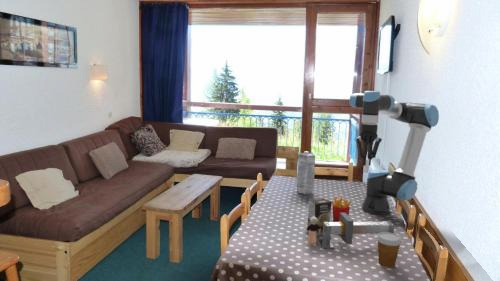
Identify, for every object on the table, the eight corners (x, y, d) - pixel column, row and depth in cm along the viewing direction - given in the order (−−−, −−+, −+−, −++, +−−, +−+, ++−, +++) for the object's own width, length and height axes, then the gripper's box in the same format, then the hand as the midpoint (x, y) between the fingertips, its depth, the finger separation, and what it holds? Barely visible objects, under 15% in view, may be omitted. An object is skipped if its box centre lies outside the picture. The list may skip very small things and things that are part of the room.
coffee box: (314, 237, 186) (316, 203, 183) (306, 232, 192) (308, 199, 189) (329, 234, 190) (332, 201, 188) (321, 229, 196) (323, 197, 193)
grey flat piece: (343, 234, 183) (345, 212, 181) (351, 244, 173) (353, 221, 171) (338, 234, 183) (339, 212, 181) (346, 244, 172) (348, 221, 171)
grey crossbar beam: (389, 240, 185) (391, 219, 183) (397, 247, 177) (399, 226, 175) (317, 241, 181) (319, 220, 179) (323, 249, 173) (324, 227, 171)
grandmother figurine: (308, 246, 175) (309, 219, 173) (303, 243, 178) (304, 216, 176) (322, 243, 179) (323, 216, 177) (316, 240, 182) (318, 214, 180)
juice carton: (313, 195, 252) (316, 153, 248) (297, 194, 252) (299, 152, 248) (311, 191, 261) (314, 150, 257) (295, 190, 261) (297, 150, 257)
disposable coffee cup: (370, 259, 165) (373, 231, 163) (392, 258, 166) (395, 231, 164) (380, 270, 156) (382, 241, 154) (403, 269, 157) (406, 241, 155)
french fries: (337, 221, 207) (339, 193, 205) (351, 225, 202) (354, 197, 199) (328, 225, 201) (330, 196, 199) (342, 230, 195) (344, 200, 193)
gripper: (379, 122, 193) (375, 170, 197) (353, 122, 192) (349, 170, 196) (386, 124, 186) (381, 173, 190) (359, 124, 184) (355, 173, 188)
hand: (365, 171), depth 193 cm, fingers closed
